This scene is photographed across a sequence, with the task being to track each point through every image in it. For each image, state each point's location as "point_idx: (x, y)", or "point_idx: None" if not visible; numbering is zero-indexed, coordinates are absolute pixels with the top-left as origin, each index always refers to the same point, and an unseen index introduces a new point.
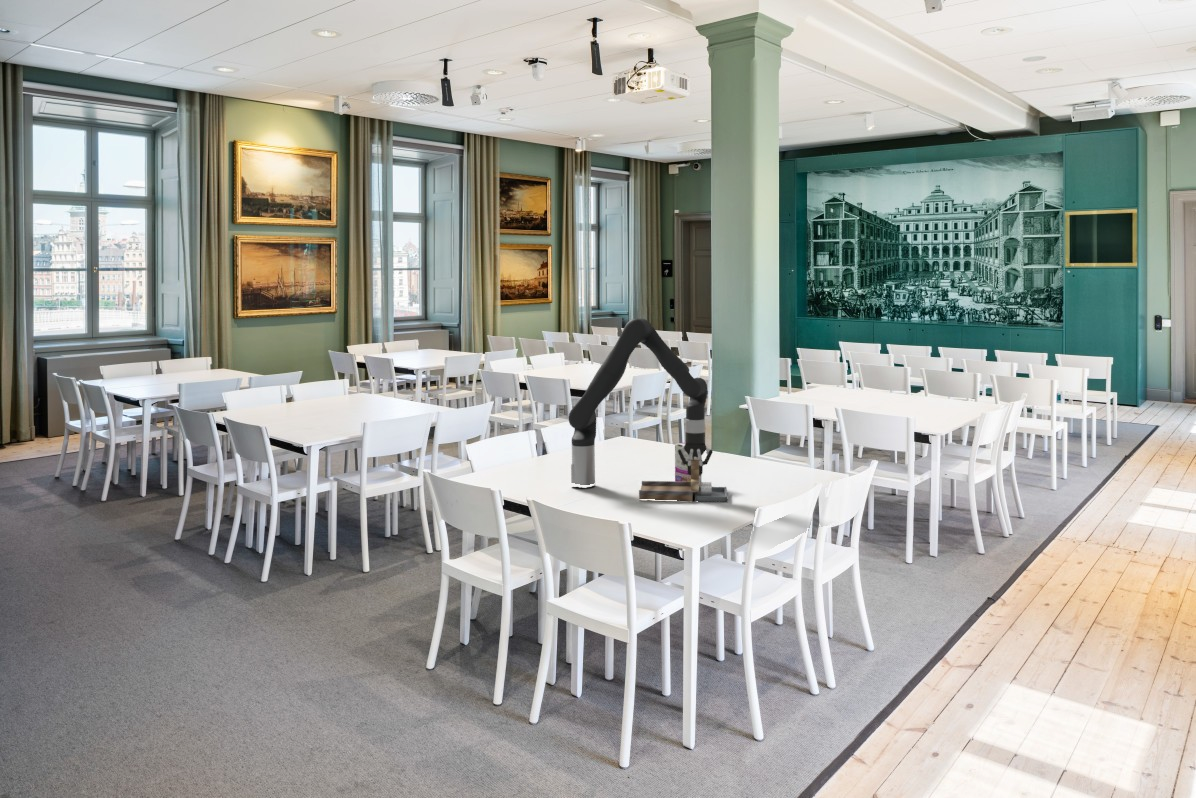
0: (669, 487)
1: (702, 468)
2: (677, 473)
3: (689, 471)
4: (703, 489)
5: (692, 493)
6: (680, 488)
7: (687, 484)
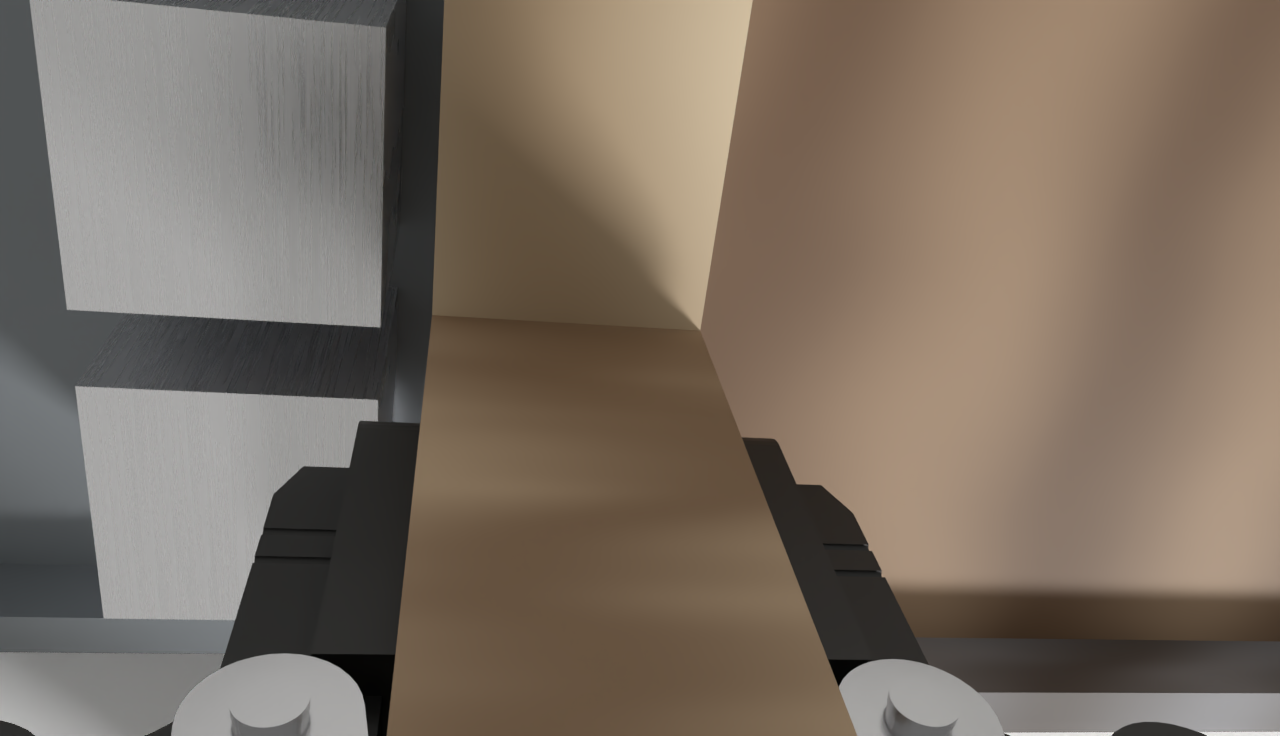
0: (1054, 512)
1: (238, 613)
2: None
3: (805, 505)
4: (309, 11)
5: None
6: (850, 438)
7: None
